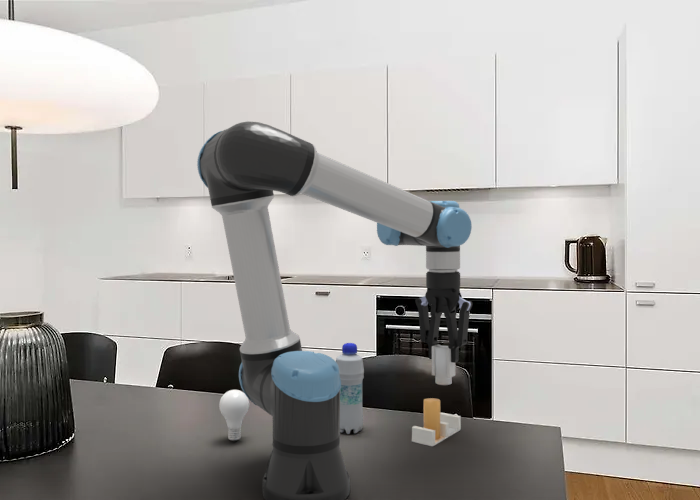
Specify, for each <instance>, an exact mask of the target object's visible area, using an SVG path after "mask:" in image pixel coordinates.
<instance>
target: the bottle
mask: <svg viewBox="0 0 700 500" xmlns="http://www.w3.org/2000/svg"><path fill="white" fill-rule="evenodd" d="M341 349H342V350H341V351H342V354H340V355H338V356H337V357H336V358H335V359H336V360H335V361H336V362H337V364H338V366H339V373H340V379H341V388H340V434H341V433H344V432H345V433H346V434H347V435H350V434H351V431H352V430H353V431H352V432H353V434H357V433H359V432H360V431H362V430H363V427H364V411H363V410H364V409H363V379H364V378H365V376H364V373H365V369H364V360H363V357H362V356H360V355H358V346H357V344H356V343H353V342H346V343H344V344H342V348H341Z"/></svg>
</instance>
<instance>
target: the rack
mask: <svg viewBox="0 0 700 500" xmlns="http://www.w3.org/2000/svg"><path fill="white" fill-rule="evenodd" d="M461 417H462V416H461V415H456V414H451V413H445V412H441V411H440V438H439V439H436V440H435V430H431V429H427V428H424V427H422V426H417V425H413V426H412V427H411V442H413V443H416V444H420V445H425V446H429V447H434V446H436V445H438V444H439V443H441V442H443V441H444V440H446V439H448V438H450V437H451V436H453V435H454V434H456V433H458V432H459V431H461V427H462V426H461V425H462V424H461V423H462V422H461V421H462V419H461Z"/></svg>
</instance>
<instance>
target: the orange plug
mask: <svg viewBox="0 0 700 500" xmlns="http://www.w3.org/2000/svg"><path fill="white" fill-rule="evenodd" d="M440 413H441V400H440V399H439V398H433V397H432V398H431V397H430V398H429V397H428V398H423V428H427V429H431V430H435V440H436V439H439V438H440Z"/></svg>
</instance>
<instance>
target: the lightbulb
mask: <svg viewBox="0 0 700 500" xmlns="http://www.w3.org/2000/svg"><path fill="white" fill-rule="evenodd" d="M218 406H219V407H218V408H219V411H220V414H221V415H222V417H223V418H224V420H225V424H226V426H227V431H228V432H227V435H228V436H227V437H228V438H227V439H228V440H230V441H232V442H237V441H239V440H240V439H242V434H241V433H242V432H241V431H242V430H241V429H242V425H243V421H244V418H245V416H246V415H247V413H248V411H249V408H250V400H249V399H248V397H247V396H246V395H245V393H244V392H243V390H239V389H230V390H227V391H226V392H225V393H224V394H223V395H222V396H221V398H220V399H219V403H218Z"/></svg>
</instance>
